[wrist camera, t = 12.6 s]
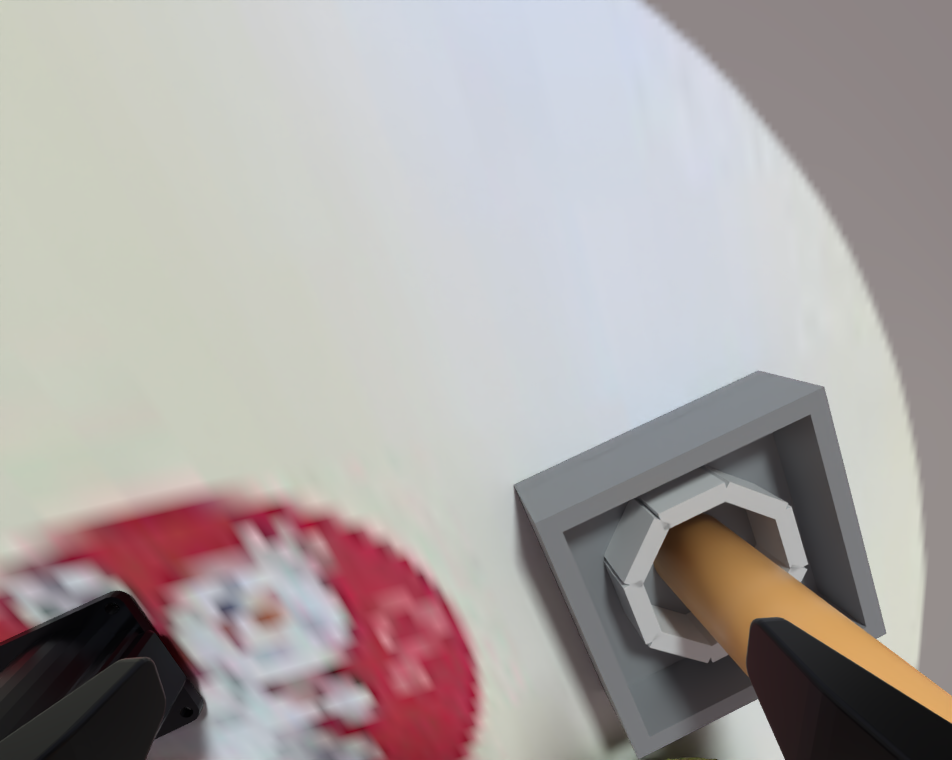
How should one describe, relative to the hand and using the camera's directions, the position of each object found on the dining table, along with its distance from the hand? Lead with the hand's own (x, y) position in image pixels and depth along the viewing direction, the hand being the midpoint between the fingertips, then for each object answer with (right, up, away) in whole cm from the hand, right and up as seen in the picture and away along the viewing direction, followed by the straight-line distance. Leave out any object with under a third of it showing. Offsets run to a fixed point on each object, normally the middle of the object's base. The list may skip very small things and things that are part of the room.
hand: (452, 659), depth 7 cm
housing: (+10, -3, +15) cm, 19 cm away
